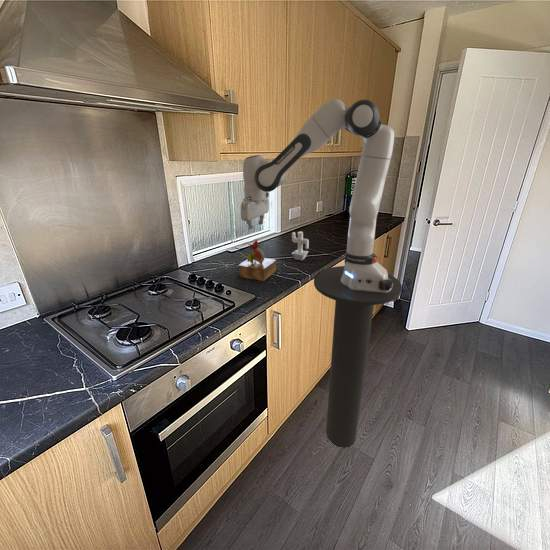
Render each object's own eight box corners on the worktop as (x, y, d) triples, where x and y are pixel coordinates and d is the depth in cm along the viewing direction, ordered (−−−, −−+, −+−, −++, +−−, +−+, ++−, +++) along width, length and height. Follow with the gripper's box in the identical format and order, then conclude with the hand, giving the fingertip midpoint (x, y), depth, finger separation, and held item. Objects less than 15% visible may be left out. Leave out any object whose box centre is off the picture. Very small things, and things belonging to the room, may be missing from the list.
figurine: (305, 262, 156) (306, 234, 150) (289, 259, 160) (289, 232, 154) (310, 257, 162) (311, 231, 156) (294, 255, 166) (295, 229, 160)
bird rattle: (265, 265, 141) (251, 255, 144) (272, 246, 135) (257, 236, 138) (257, 269, 137) (243, 259, 140) (263, 250, 130) (249, 240, 133)
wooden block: (276, 271, 145) (276, 259, 143) (264, 281, 134) (263, 269, 131) (252, 267, 150) (252, 256, 148) (238, 276, 139) (237, 265, 137)
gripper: (248, 199, 118) (251, 232, 124) (270, 192, 135) (271, 222, 141) (235, 198, 121) (238, 231, 126) (258, 192, 138) (260, 221, 143)
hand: (256, 226), depth 134 cm, fingers open, 8 cm apart
